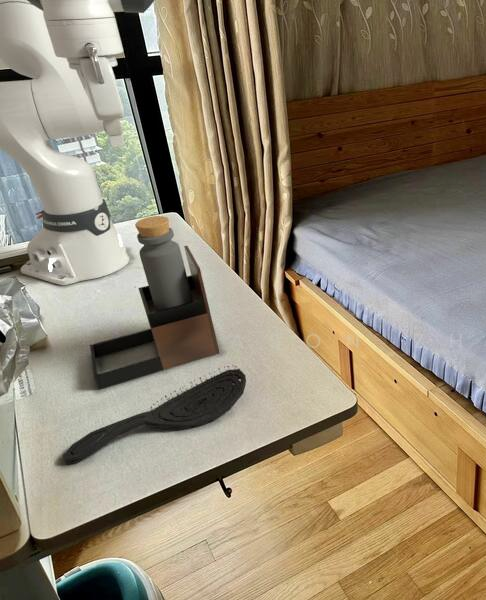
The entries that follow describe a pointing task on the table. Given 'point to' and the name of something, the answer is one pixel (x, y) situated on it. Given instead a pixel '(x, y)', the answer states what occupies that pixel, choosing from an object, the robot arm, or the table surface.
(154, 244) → the bottle
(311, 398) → the table surface
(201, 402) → the hairbrush
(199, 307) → the bottle rack
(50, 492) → the table surface
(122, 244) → the robot arm
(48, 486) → the table surface
